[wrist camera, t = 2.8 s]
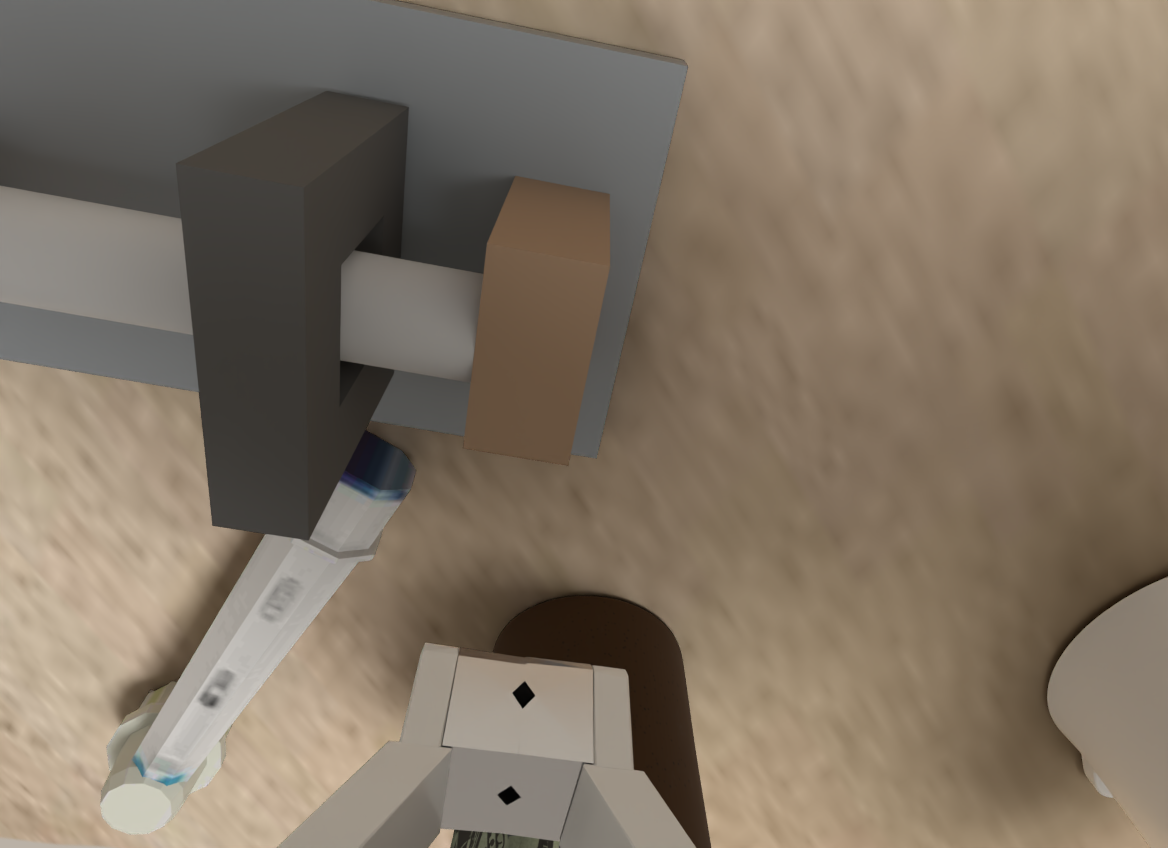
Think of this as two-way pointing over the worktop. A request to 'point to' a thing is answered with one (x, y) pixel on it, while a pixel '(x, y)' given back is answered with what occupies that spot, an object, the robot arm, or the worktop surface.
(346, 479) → the electric toothbrush
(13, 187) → the pipe stand
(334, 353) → the collar
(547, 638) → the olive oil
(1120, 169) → the worktop surface
